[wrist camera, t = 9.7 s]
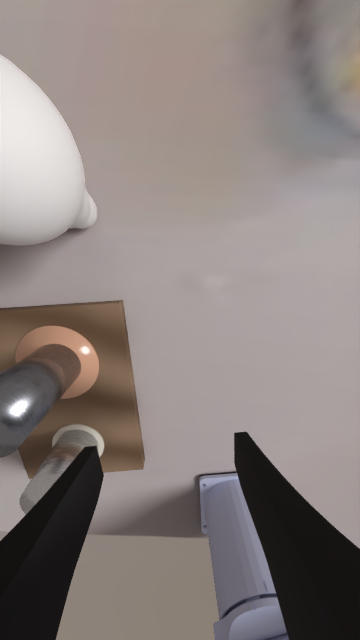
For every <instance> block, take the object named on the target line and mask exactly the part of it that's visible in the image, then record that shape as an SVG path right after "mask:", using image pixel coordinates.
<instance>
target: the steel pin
mask: <svg viewBox="0 0 360 640" xmlns="http://www.w3.org/2000/svg"><path fill="white" fill-rule="evenodd" d="M80 372H81V362H80V360H79V358H78V356H77V355H76V353H75V352H74V351H73V350H71V349H70V348H68V347H66V346H64V345H61V344H48V345H45V346H43V347H41V348H39V349H38V350H36V351H35V352H33V353H31V354H30V355H28V356H27V357H25V358H23V359H22V360H20V361H19V362H17V363H15V364H14V365H12V366H11V367H9V368H7V369H6V370H4V371H3V372H1V373H0V457H4V456H7V455H9V454H11V453H13V452H14V451H16V450H17V449H18V448H19V447H20V445H21V444H22V443H23V442H24V441H25V439H26V438H27V437H28V436H29V435H30V433H31V432H32V431H33V430H34V429H35V428H36V426H37V425H38V424H39V423H40V422H41V420H42V419H43V418H44V417H45V416H46V415H47V413H48V412H49V411H50V410H51V409H52V407H53V406H54V405H55V404H56V403H57V402H58V400H59V399H60V398H61V397H62V396H63V394H64V393H65V392H66V391H67V390H68V388H69V387H70V386H71V385H72V384H73V383H74V381H75V380H76V379H77V378H78V376H79V375H80Z"/></svg>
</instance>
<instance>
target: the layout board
mask: <svg viewBox="0 0 360 640" xmlns="http://www.w3.org/2000/svg"><path fill="white" fill-rule="evenodd" d="M48 344H61V345H64V346H66V347H68V348H70V349H71V350H73V351H74V352H75V353H76V355H77V356H78V358H79V360H80V362H81V372H80V375H79V376H78V378H77V379H76V380H75V381H74V383H73V384H72V385H71V386H70V387H69V388H68V390H67V391H66V392H65V393H64V394H63V396H62V397H61V398H60V399H59V400H58V402H57V403H56V404H55V405H54V406H53V407H52V409H51V410H50V411H49V412H48V413H47V415H46V416H45V417H44V418H43V419H42V420H41V422H40V423H39V424H38V425H37V426H36V428H35V429H34V430H33V431H32V432H31V433H30V435H29V436H28V437H27V438H26V439H25V441H24V442H23V443H22V444H21V445H20V447H19V448H18V449H19V452H20V455H21V458H22V460H23V463H24V466H25V469H26V472H27V474H28V477H29V479H32V480H31V481H30V483H29V484H28V486H27V487H26V489H25V490H24V492H23V494H22V495H21V497H20V506H21V508H22V510H23V512H24V513H25V514H27V513H28V512H29V511H30V510H31V509H32V508H33V507H34V505H35V504H36V503H37V502H38V501H39V500H40V499H41V498H42V497H43V496H44V494H45V493H46V492H47V491H48V490H49V489H50V487H51V486H52V485H53V484H54V483H55V482H56V480H57V479H58V478H59V477H60V476H61V475H62V473H63V472H64V471H65V470H66V469H67V467H68V466H69V465H70V464H71V463H72V461H73V460H74V459H75V458H76V457H77V455H78V454H79V453H80V452H81V451H82V449H83V448H84V447H87V446H97V449H98V453H99V458H100V462H101V466H102V470H103V473H104V472H116V471H128V470H140V469H143V467H144V460H145V457H144V450H143V442H142V435H141V428H140V421H139V414H138V406H137V399H136V392H135V385H134V378H133V370H132V363H131V356H130V349H129V342H128V334H127V327H126V320H125V313H124V306H123V300H121V301H105V302H90V303H74V304H59V305H44V306H28V307H13V308H0V373H1V372H3V371H4V370H6V369H7V368H9V367H11V366H12V365H14V364H15V363H17V362H19V361H20V360H22V359H23V358H25V357H27V356H28V355H30V354H31V353H33V352H35V351H36V350H38V349H39V348H41V347H43V346H45V345H48Z"/></svg>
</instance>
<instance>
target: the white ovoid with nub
mask: <svg viewBox="0 0 360 640" xmlns="http://www.w3.org/2000/svg"><path fill="white" fill-rule="evenodd" d="M96 218H97V207H96V204H95V202H94V201H93V199H92V198H91V197H90V196H89V195H88V193H87V190H86V189H85V176H84V169H83V164H82V160H81V156H80V154H79V151H78V149H77V146H76V144H75V141H74V139H73V136H72V134H71V131H70V129H69V128H68V126H67V124H66V123H65V121H64V119H63V118H62V116H61V114H60V113H59V111H58V110H57V109H56V107H55V106H54V105H53V103H52V102H51V101H50V100H49V98H48V97H47V96H46V95H45V94H44V92H43V91H42V90H41V89H40V88H39V86H38V85H37V84H35V83H34V82H33V81H32V80H31V79H30V78H29V77H28V76H27V75H26V74H24V73H23V72H22V71H21V70H20V69H19V68H17V67H16V66H15V65H14V64H13V63H12V62H11V61H9V60H8V59H6V58H5V57H3V56H2V55H0V244H6V245H17V246H27V245H34V244H40V243H44V242H47V241H50V240H52V239H55V238H57V237H58V236H60V235H61V234H63V233H64V232H66V230H67V229H68V228H69V229H70V228H79V229H86V228H89V227H90V226H92V225H93V224H94V223H95V221H96Z"/></svg>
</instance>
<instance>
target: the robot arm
mask: <svg viewBox="0 0 360 640" xmlns="http://www.w3.org/2000/svg"><path fill="white" fill-rule="evenodd" d="M234 451H235V467H236V471H237V473H231V474H219V475H207V476H201V477H200V478H199V486H200V509H201V530H202V533H203V534H208V538H209V545H210V553H211V561H212V567H213V576H214V583H215V590H216V598H217V606H218V613H219V621H217V622H215V623H214V624H213V625H214V634H215V640H360V549H359V548H358V547H357V546H356V545H354V544H353V543H352V542H351V541H350V540H348V539H347V538H346V537H345V536H344V535H343V534H341V533H340V532H339V531H338V530H337V529H336V528H335V527H334V526H333V525H331V524H330V523H329V522H328V521H327V520H326V519H325V518H324V517H323V516H322V515H321V514H320V513H319V512H318V511H316V510H315V509H314V508H313V507H312V506H311V505H310V504H309V503H308V502H307V501H306V500H305V499H304V498H303V497H302V496H301V495H300V494H299V493H298V492H297V491H296V490H295V488H294V487H293V486H292V485H291V484H290V483H289V482H288V481H287V480H286V479H285V478H284V477H283V476H282V474H281V473H280V472H279V471H278V470H277V469H276V468H275V466H274V465H273V464H272V463H271V462H270V461H269V459H268V458H267V457H266V456H265V455H264V453H263V452H262V451H261V450H260V448H259V447H258V446H257V445H256V443H255V442H254V441H253V440H252V438H251V437H250V436H249V434H248V433H247V432H239V433H234ZM103 476H104V475H103V470H102V466H101V462H100V458H99V453H98V449H97V446H87V447H84V448H83V449H82V451H81V452H80V453H79V454H78V455H77V457H76V458H75V459H74V460H73V461H72V463H71V464H70V465H69V466H68V467H67V469H66V470H65V471H64V472H63V473H62V475H61V476H60V477H59V478H58V479H57V480H56V482H55V483H54V484H53V485H52V486H51V487H50V489H49V490H48V491H47V492H46V493H45V494H44V496H43V497H42V498H41V499H40V500H39V501H38V502H37V503H36V504H35V505H34V507H33V508H32V509H31V510H30V511H29V512H28V513H27V514H26V515H25V516H24V517H23V519H22V520H21V521H20V522H19V523H18V524H17V525H16V526H15V527H14V528H13V529H12V530H11V531H10V532H9V533H8V534H7V535H6V536H5V537H4V538H3V539H2V540H1V541H0V640H56V636H57V632H58V628H59V624H60V620H61V617H62V613H63V609H64V605H65V602H66V598H67V594H68V591H69V587H70V583H71V580H72V577H73V573H74V570H75V567H76V564H77V561H78V558H79V555H80V552H81V549H82V546H83V543H84V541H85V538H86V535H87V532H88V529H89V526H90V523H91V520H92V517H93V514H94V511H95V508H96V505H97V502H98V498H99V494H100V490H101V485H102V481H103Z"/></svg>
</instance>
